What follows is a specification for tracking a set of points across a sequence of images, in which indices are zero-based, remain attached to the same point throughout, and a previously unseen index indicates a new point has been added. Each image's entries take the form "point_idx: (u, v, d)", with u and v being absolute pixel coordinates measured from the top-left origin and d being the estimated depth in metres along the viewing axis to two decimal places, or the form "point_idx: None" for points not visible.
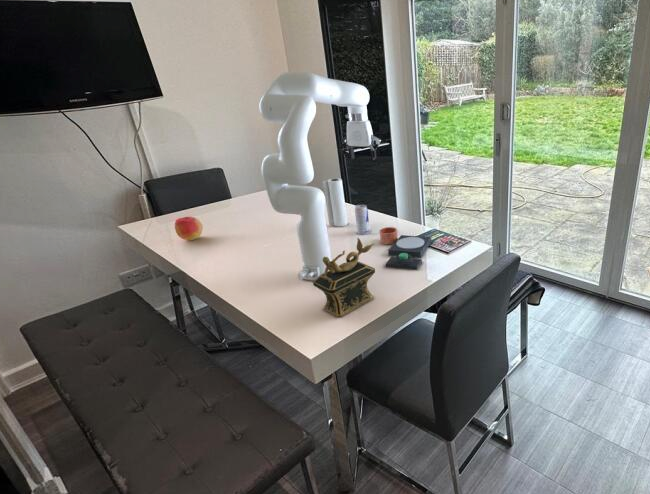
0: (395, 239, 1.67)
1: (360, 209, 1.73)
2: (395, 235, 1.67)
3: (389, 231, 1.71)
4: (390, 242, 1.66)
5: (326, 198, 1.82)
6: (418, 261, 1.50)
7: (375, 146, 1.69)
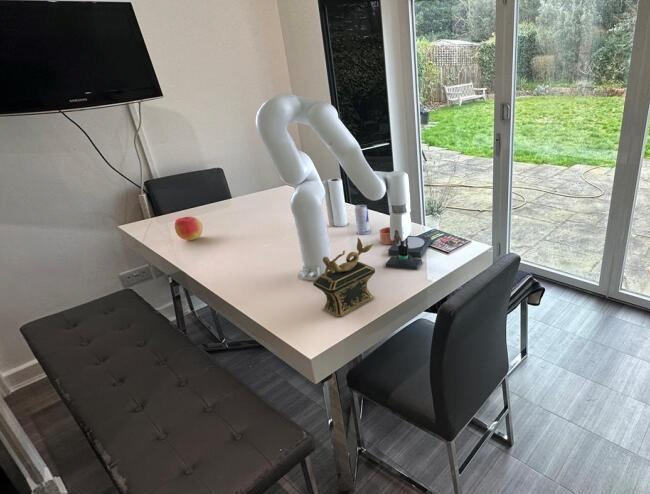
0: (395, 239, 1.67)
1: (360, 209, 1.73)
2: None
3: (389, 231, 1.71)
4: (390, 242, 1.66)
5: (326, 198, 1.82)
6: (418, 261, 1.50)
7: None
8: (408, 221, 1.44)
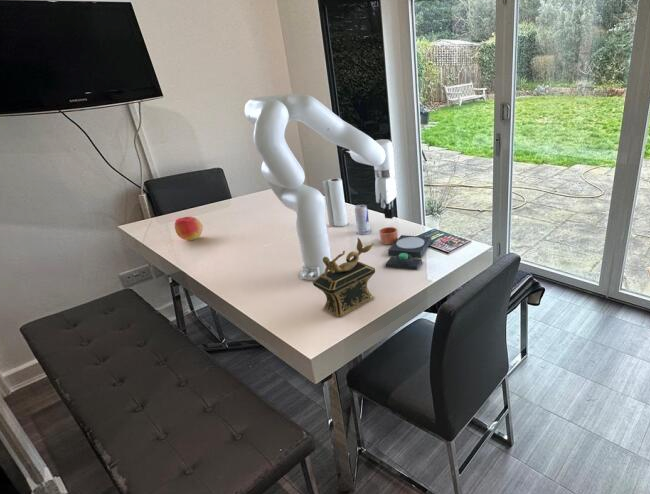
0: (395, 239, 1.67)
1: (360, 209, 1.73)
2: (395, 235, 1.67)
3: (389, 231, 1.71)
4: (390, 242, 1.66)
5: (326, 198, 1.82)
6: (418, 261, 1.50)
7: None
8: (393, 186, 1.58)
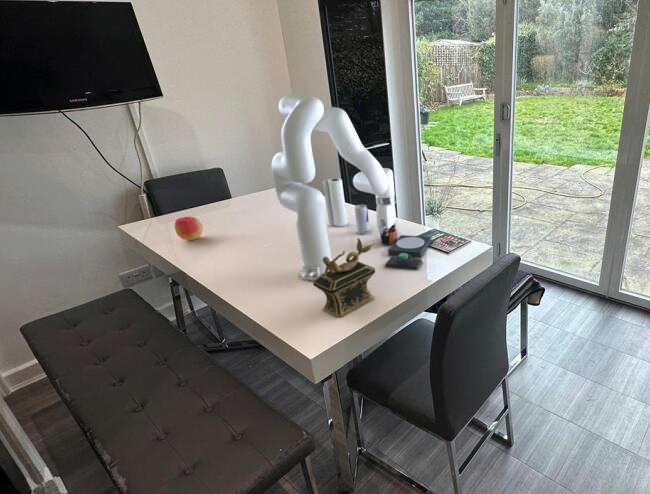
0: (395, 239, 1.67)
1: (360, 209, 1.73)
2: (395, 235, 1.67)
3: (389, 231, 1.71)
4: (390, 242, 1.66)
5: (326, 198, 1.82)
6: (418, 261, 1.50)
7: None
8: (393, 212, 1.65)
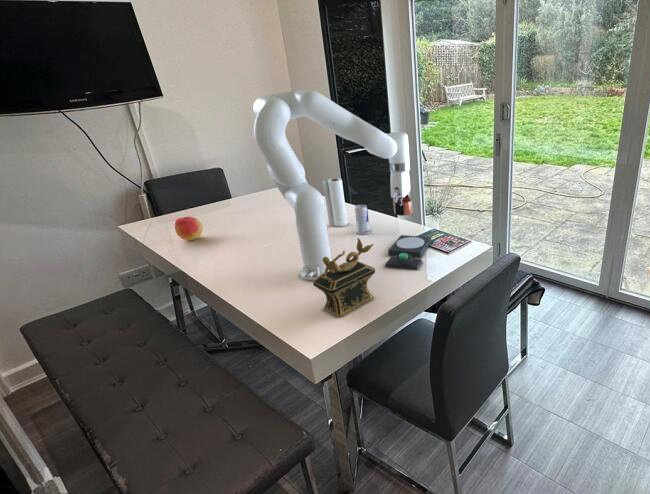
0: (410, 210, 1.56)
1: (360, 209, 1.73)
2: (410, 205, 1.56)
3: None
4: (405, 213, 1.55)
5: (326, 198, 1.82)
6: (418, 261, 1.50)
7: None
8: (407, 180, 1.54)
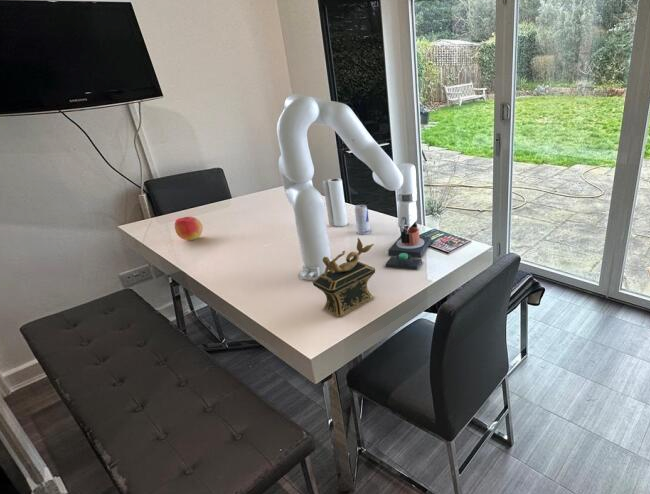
0: (417, 239, 1.60)
1: (360, 209, 1.73)
2: (417, 235, 1.59)
3: (410, 231, 1.64)
4: (412, 243, 1.59)
5: (326, 198, 1.82)
6: (418, 261, 1.50)
7: None
8: (414, 209, 1.57)
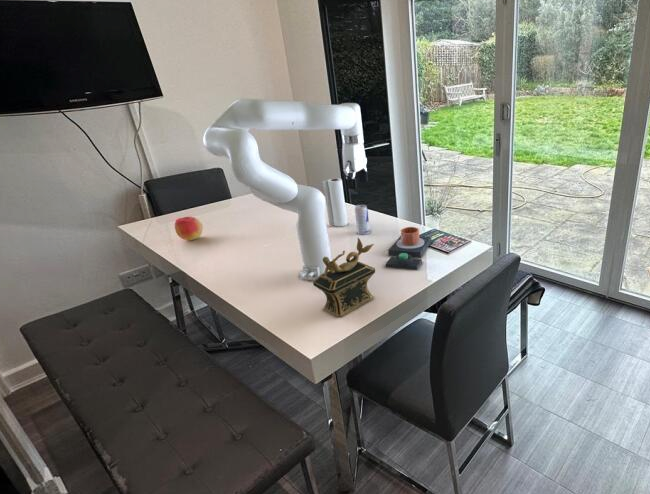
0: (417, 239, 1.60)
1: (360, 209, 1.73)
2: (417, 235, 1.59)
3: (410, 231, 1.64)
4: (412, 243, 1.59)
5: (326, 198, 1.82)
6: (418, 261, 1.50)
7: None
8: (361, 154, 1.49)
